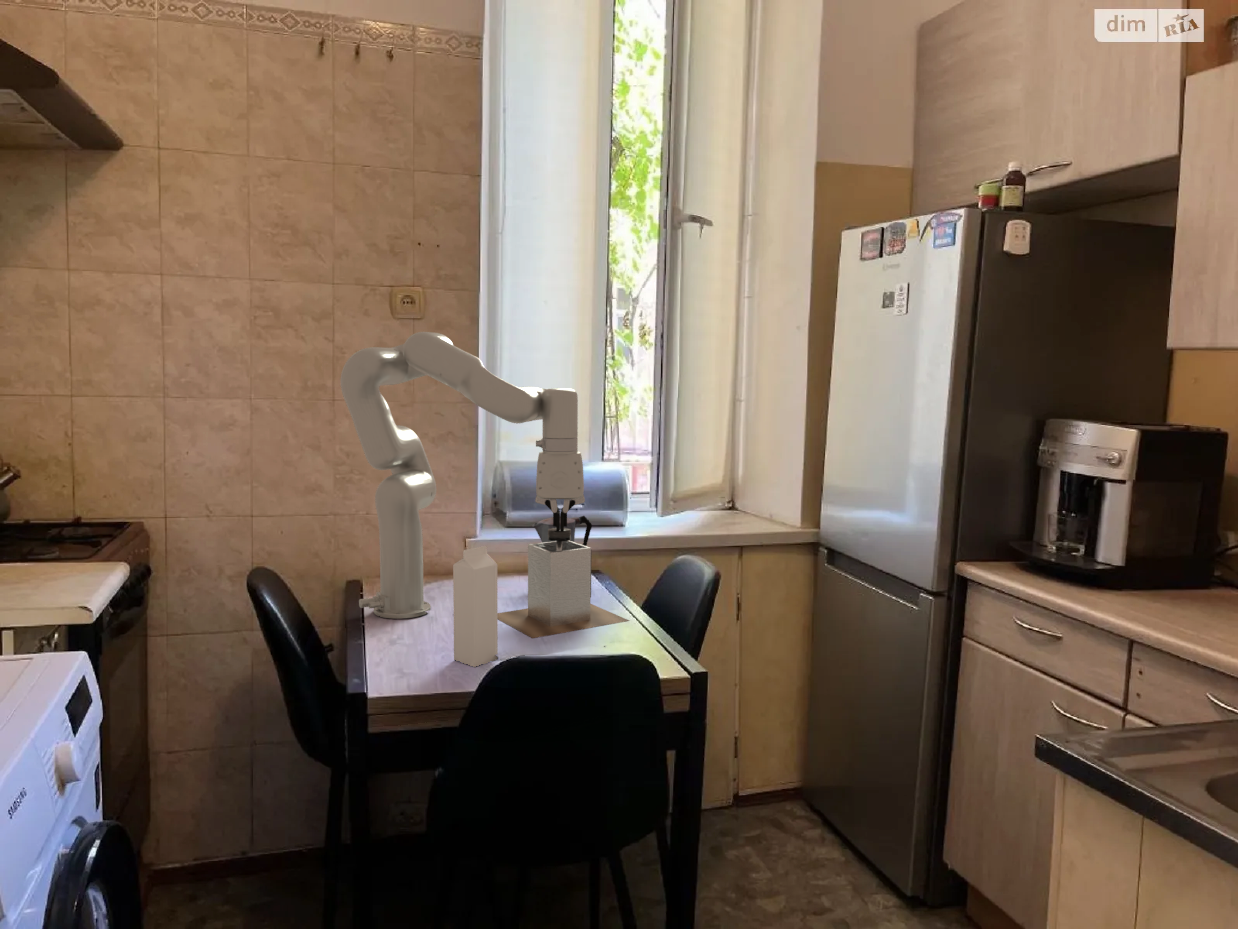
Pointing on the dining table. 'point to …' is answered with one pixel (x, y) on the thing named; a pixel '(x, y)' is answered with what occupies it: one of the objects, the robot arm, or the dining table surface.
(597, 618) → the walnut board
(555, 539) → the plunger
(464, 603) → the milk
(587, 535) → the moka pot
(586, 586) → the open box
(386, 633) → the dining table surface
